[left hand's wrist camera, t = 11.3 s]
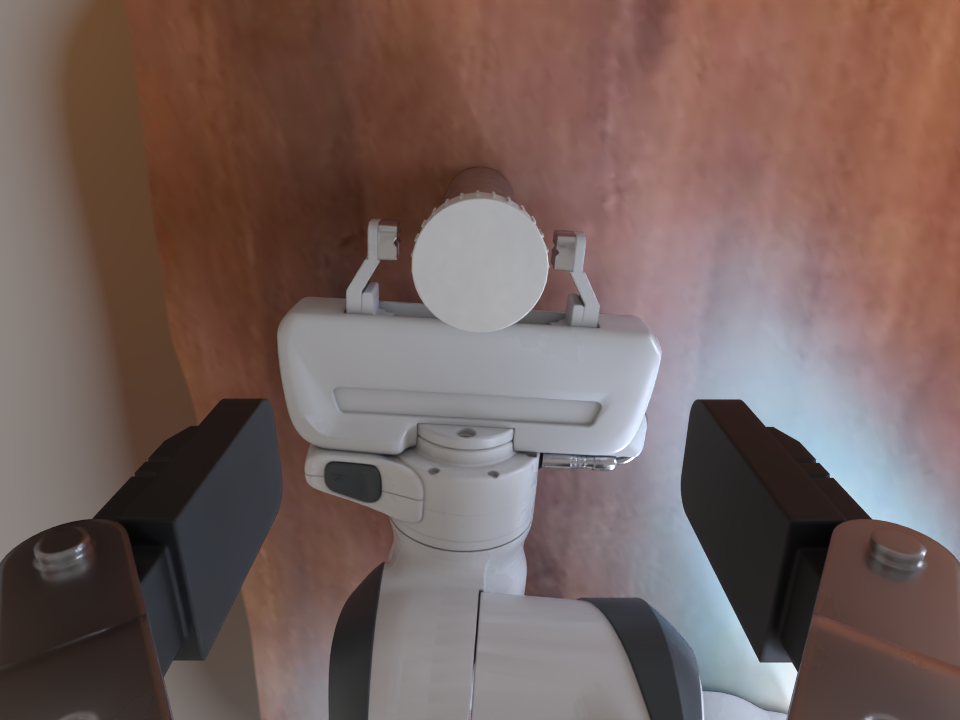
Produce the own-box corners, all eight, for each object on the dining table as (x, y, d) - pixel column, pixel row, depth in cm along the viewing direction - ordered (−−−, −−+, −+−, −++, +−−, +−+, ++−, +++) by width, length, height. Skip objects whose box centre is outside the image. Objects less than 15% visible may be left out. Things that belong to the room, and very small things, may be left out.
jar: (458, 245, 40) (446, 332, 25) (435, 180, 38) (407, 230, 23) (523, 224, 39) (549, 299, 24) (502, 156, 38) (516, 192, 23)
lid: (440, 336, 26) (437, 351, 25) (394, 215, 24) (388, 223, 23) (561, 298, 26) (566, 310, 24) (523, 170, 24) (526, 175, 22)
